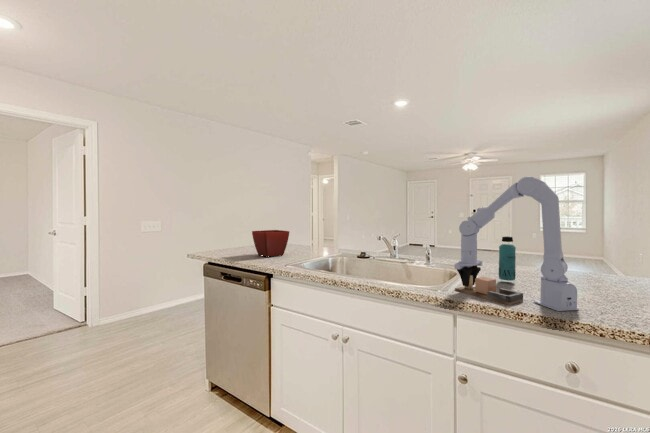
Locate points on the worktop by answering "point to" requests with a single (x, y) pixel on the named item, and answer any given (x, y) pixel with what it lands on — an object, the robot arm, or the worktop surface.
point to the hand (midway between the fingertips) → (468, 285)
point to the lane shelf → (496, 295)
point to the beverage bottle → (507, 260)
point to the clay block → (482, 284)
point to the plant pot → (270, 242)
